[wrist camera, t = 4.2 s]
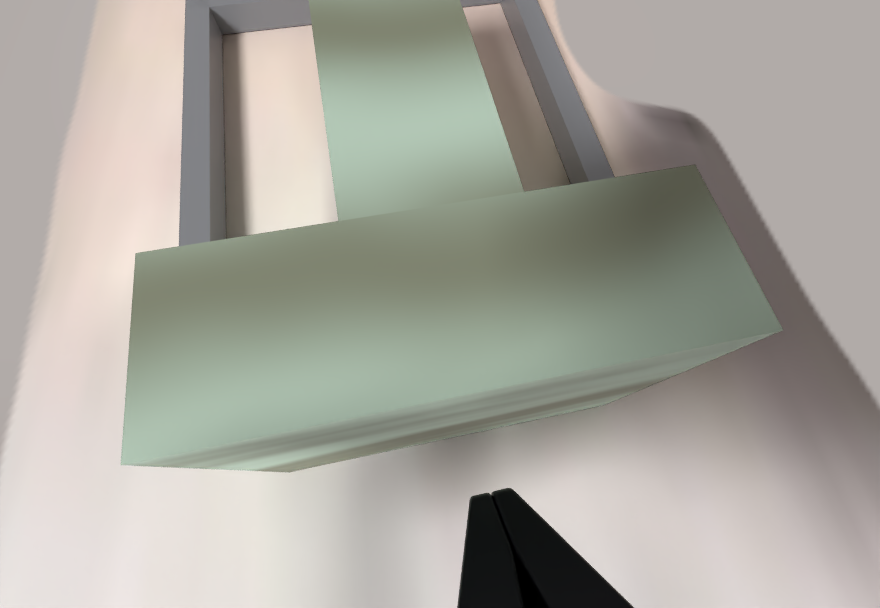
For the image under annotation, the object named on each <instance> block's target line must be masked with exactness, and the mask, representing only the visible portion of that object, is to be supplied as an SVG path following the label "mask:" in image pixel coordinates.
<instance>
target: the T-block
mask: <svg viewBox="0 0 880 608" xmlns="http://www.w3.org/2000/svg"><path fill="white" fill-rule="evenodd" d="M309 8H310V15H311V22H312V30H313V37H314V44H315V52H316V59H317V67H318V74H319V81H320V89H321V96H322V103H323V111H324V118H325V125H326V133H327V140H328V148H329V155H330V162H331V170H332V177H333V184H334V192H335V199H336V206H337V214H338V221H336V222H330V223H323V224H317V225H311V226H304V227H298V228H292V229H286V230H279V231H273V232H267V233H260V234H254V235H248V236H241V237H235V238H229V239H222V240H216V241H210V242H203V243H197V244H191V245H185V246H178V247H172V248H166V249H159V250H153V251H147V252H140V253H136V255H135V270H134V284H133V298H132V312H131V326H130V341H129V355H128V369H127V383H126V398H125V412H124V426H123V440H122V455H121V465H129V466H153V467H176V468H200V469H224V470H247V471H271V472H293V471H297V470H302V469H307V468H311V467H316V466H321V465H325V464H330V463H335V462H339V461H344V460H349V459H354V458H358V457H363V456H368V455H372V454H377V453H382V452H386V451H391V450H396V449H401V448H405V447H410V446H415V445H419V444H424V443H429V442H433V441H438V440H443V439H447V438H452V437H457V436H462V435H466V434H471V433H476V432H480V431H485V430H490V429H494V428H499V427H504V426H508V425H513V424H518V423H523V422H527V421H532V420H537V419H541V418H546V417H551V416H555V415H560V414H565V413H570V412H574V411H579V410H584V409H588V408H593V407H598V406H602V405H606V404H608V403H610V402H613V401H615V400H618V399H620V398H622V397H625V396H627V395H630V394H632V393H634V392H637V391H639V390H641V389H644V388H646V387H649V386H651V385H653V384H656V383H658V382H661V381H663V380H665V379H668V378H670V377H673V376H675V375H677V374H680V373H682V372H684V371H687V370H689V369H692V368H694V367H696V366H699V365H701V364H704V363H706V362H708V361H711V360H713V359H716V358H718V357H720V356H723V355H725V354H728V353H730V352H732V351H735V350H737V349H739V348H742V347H744V346H747V345H749V344H751V343H754V342H756V341H759V340H761V339H763V338H766V337H768V336H771V335H773V334H775V333H778V332H780V331H782V330H783V329H782V327H781V325H780V323H779V321H778V319H777V317H776V316H775V314H774V312H773V310H772V308H771V306H770V304H769V302H768V301H767V299H766V297H765V295H764V293H763V291H762V289H761V287H760V286H759V284H758V282H757V280H756V278H755V276H754V274H753V272H752V271H751V269H750V267H749V265H748V263H747V261H746V259H745V257H744V256H743V254H742V252H741V250H740V248H739V246H738V244H737V242H736V241H735V239H734V237H733V235H732V233H731V231H730V229H729V227H728V226H727V224H726V222H725V220H724V218H723V216H722V214H721V212H720V211H719V209H718V207H717V205H716V203H715V201H714V199H713V197H712V196H711V194H710V192H709V190H708V188H707V186H706V184H705V182H704V181H703V179H702V177H701V175H700V173H699V171H698V169H697V167H696V166H695V165H689V166H683V167H677V168H670V169H664V170H658V171H651V172H645V173H639V174H633V175H626V176H620V177H614V178H607V179H601V180H595V181H588V182H582V183H576V184H569V185H563V186H557V187H551V188H544V189H538V190H532V191H525V192H524V189H523V186H522V183H521V180H520V178H519V175H518V172H517V169H516V166H515V163H514V160H513V157H512V154H511V151H510V148H509V145H508V142H507V139H506V136H505V133H504V130H503V127H502V124H501V121H500V118H499V115H498V112H497V109H496V106H495V103H494V100H493V97H492V94H491V91H490V88H489V86H488V83H487V80H486V77H485V74H484V71H483V68H482V65H481V62H480V59H479V56H478V53H477V50H476V47H475V44H474V41H473V38H472V35H471V32H470V29H469V26H468V23H467V20H466V17H465V14H464V11H463V8H462V5H461V2H460V0H309Z"/></svg>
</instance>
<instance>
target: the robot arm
mask: <svg viewBox="0 0 880 608" xmlns="http://www.w3.org/2000/svg"><path fill="white" fill-rule="evenodd" d="M457 608H634V607H633V606H632V605H631V604H630V603H629V602H628V601H627V600H626V599H625V598H624V597H623V596H622V595H620V594H619V593H618V592H617V591H616V590H615V589H614V588H613V587H612V586H611V585H610V584H609V583H608V582H607V581H606V580H605V579H604V578H603V577H602V576H601V575H600V574H599V573H598V572H597V571H596V570H595V569H594V568H593V567H592V566H591V565H590V564H589V563H588V562H587V561H586V560H585V559H584V558H583V557H582V556H581V555H580V554H579V553H577V552H576V551H575V550H574V549H573V548H572V547H571V546H570V545H569V544H568V543H567V542H566V541H565V540H564V539H563V538H562V537H561V536H560V535H559V534H558V533H557V532H556V531H555V530H554V529H553V528H552V527H551V526H550V525H549V524H548V523H547V522H546V521H545V520H544V519H543V518H542V517H541V516H540V515H539V514H538V513H537V512H536V511H534V510H533V509H532V508H531V507H530V506H529V505H528V504H527V503H526V502H525V501H524V500H523V499H522V498H521V497H520V496H519V495H518V494H517V493H516V492H515V491H514V490H513V489H511V488H506V489H502V490H497V491H494V492H492V494H489V493H484V494H480V495H475V496H472V497H471V498H470V503H469V511H468V520H467V529H466V537H465V546H464V555H463V563H462V572H461V580H460V589H459V598H458V606H457Z"/></svg>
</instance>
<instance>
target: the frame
mask: <svg viewBox="0 0 880 608" xmlns="http://www.w3.org/2000/svg"><path fill="white" fill-rule="evenodd" d="M460 2H461V5H462V7H468V6H476V5H485V4H494V3H501V6H502V9H503V11H504V14H505V16H506V19H507V21H508V24H509V27H510V29H511V32H512V34H513V37H514V39H515V42H516V45H517V47H518V50H519V52H520V55H521V57H522V60H523V62H524V65H525V68H526V70H527V73H528V75H529V78H530V80H531V83H532V86H533V88H534V91H535V93H536V96H537V98H538V101H539V104H540V106H541V109H542V111H543V114H544V116H545V119H546V122H547V124H548V127H549V129H550V132H551V134H552V137H553V140H554V142H555V145H556V147H557V150H558V152H559V155H560V158H561V160H562V163H563V165H564V168H565V170H566V173H567V176H568V178H569V181H570V183H571V184H576V183H582V182H588V181H595V180H601V179H607V178H614V174H613V172H612V170H611V167H610V165H609V163H608V161H607V158H606V156H605V154H604V152H603V149H602V147H601V145H600V142H599V140H598V138H597V136H596V133H595V131H594V129H593V127H592V124H591V122H590V120H589V117H588V115H587V113H586V111H585V108H584V106H583V104H582V101H581V99H580V97H579V95H578V92H577V90H576V88H575V86H574V83H573V81H572V79H571V76H570V74H569V72H568V70H567V67H566V65H565V63H564V61H563V58H562V56H561V54H560V51H559V49H558V47H557V45H556V42H555V40H554V38H553V35H552V33H551V31H550V29H549V26H548V24H547V22H546V20H545V17H544V15H543V13H542V10H541V8H540V6H539V4H538V1H537V0H460ZM311 24H312V22H311V15H310V8H309V0H186V4H185V41H184V78H183V114H182V151H181V188H180V224H179V246H185V245H191V244H197V243H203V242H210V241H216V240H222V239H226V203H225V153H224V104H223V54H222V35H223V34H232V33H241V32H250V31H258V30H267V29H276V28H284V27H293V26H302V25H311Z"/></svg>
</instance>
